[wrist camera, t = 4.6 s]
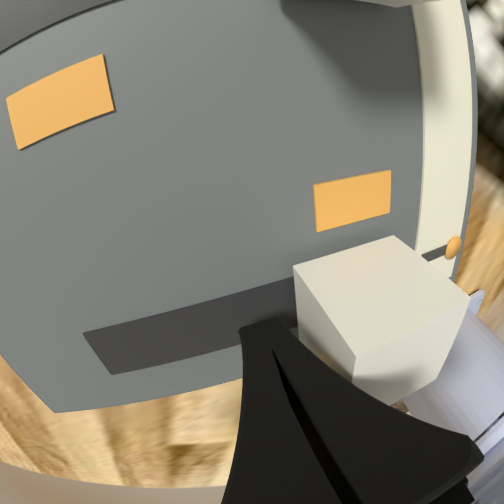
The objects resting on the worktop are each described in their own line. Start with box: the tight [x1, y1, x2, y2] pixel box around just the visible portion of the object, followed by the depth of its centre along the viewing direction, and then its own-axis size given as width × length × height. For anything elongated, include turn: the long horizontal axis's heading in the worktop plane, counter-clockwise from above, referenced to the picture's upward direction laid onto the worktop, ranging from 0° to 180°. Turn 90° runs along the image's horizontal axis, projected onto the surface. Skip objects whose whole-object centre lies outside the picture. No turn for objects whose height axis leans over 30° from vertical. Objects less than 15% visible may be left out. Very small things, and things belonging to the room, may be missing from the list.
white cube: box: [293, 235, 471, 406], centre depth 9 cm, size 4×4×4 cm
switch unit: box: [0, 0, 477, 413], centre depth 8 cm, size 19×22×2 cm
